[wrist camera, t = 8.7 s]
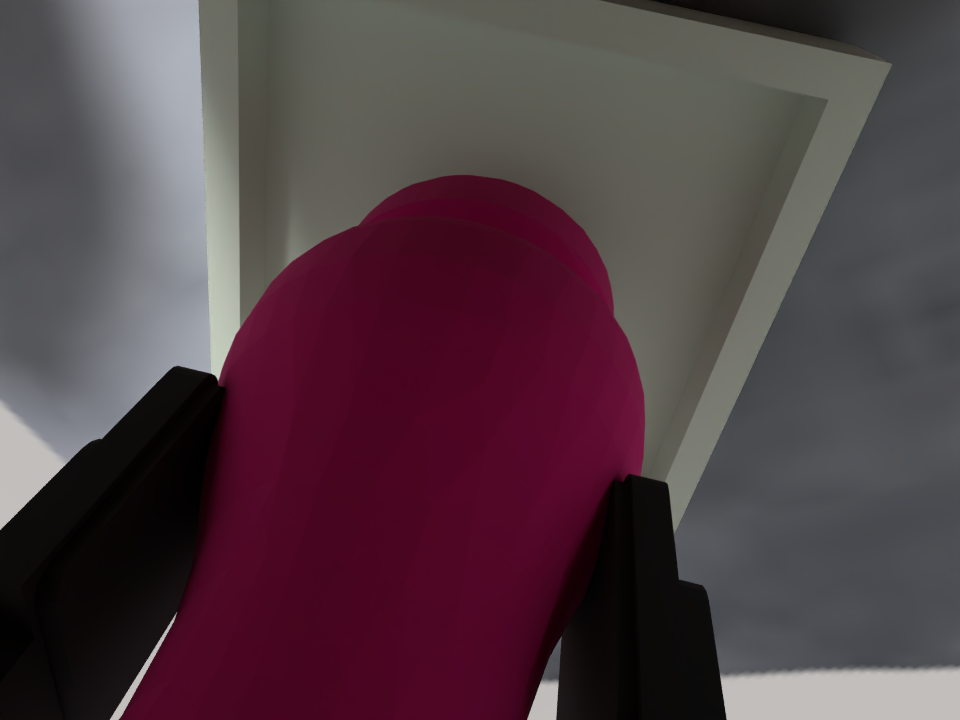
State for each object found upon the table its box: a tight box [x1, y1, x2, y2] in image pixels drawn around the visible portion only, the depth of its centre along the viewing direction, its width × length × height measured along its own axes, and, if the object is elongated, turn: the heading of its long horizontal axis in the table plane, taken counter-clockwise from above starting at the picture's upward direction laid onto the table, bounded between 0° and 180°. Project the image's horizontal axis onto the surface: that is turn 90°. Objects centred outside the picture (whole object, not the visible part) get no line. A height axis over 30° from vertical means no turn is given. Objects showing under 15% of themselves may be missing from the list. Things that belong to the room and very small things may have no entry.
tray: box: [199, 0, 892, 534], centre depth 18 cm, size 13×20×5 cm, turn 170°
